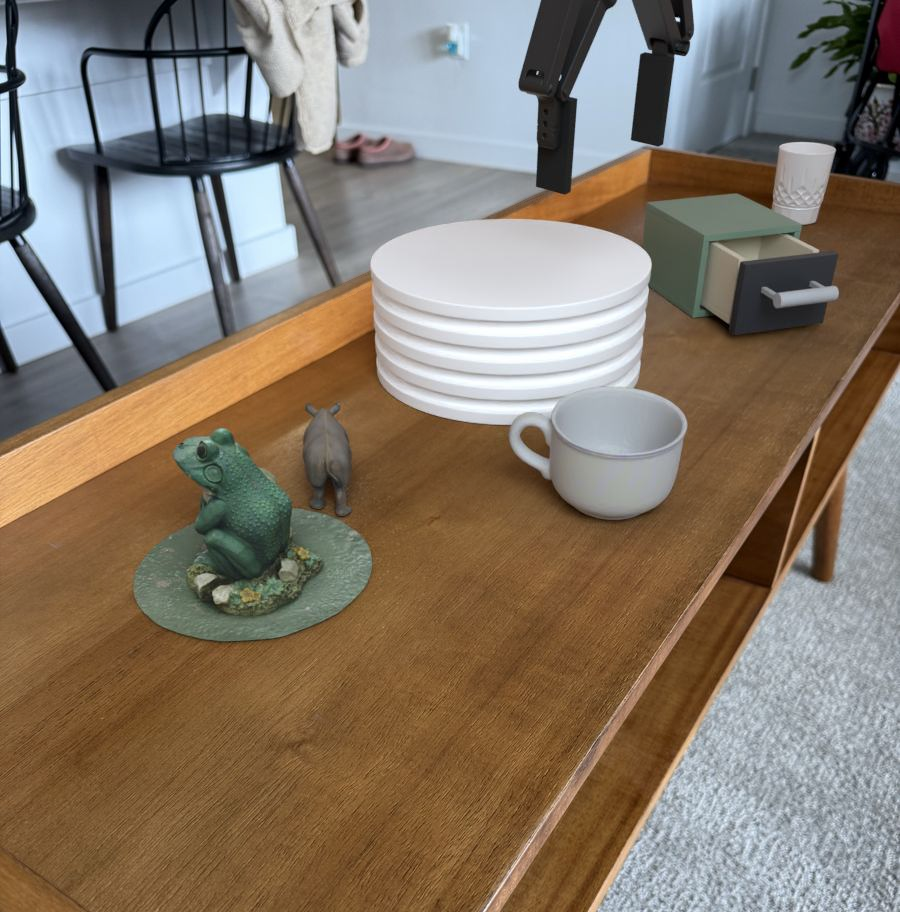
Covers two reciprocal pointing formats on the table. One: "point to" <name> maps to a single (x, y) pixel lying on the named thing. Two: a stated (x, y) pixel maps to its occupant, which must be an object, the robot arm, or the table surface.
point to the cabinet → (700, 240)
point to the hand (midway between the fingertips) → (602, 165)
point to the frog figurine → (247, 555)
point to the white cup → (801, 180)
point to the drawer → (768, 283)
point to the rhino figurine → (327, 457)
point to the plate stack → (506, 316)
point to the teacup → (608, 449)
